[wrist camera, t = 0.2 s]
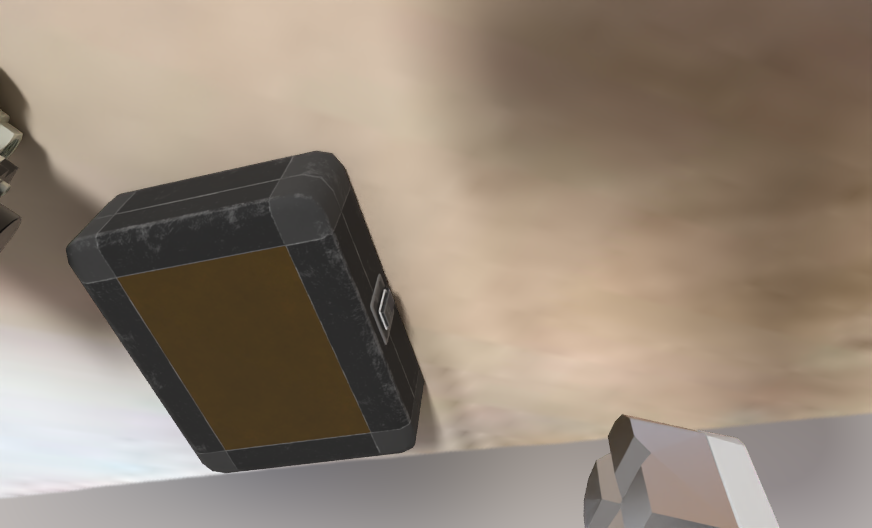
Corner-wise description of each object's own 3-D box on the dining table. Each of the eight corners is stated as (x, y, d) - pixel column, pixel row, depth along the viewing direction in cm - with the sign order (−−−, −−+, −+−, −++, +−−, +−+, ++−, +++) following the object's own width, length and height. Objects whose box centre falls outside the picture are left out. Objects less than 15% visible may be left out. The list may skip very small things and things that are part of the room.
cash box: (436, 387, 63) (428, 454, 57) (235, 414, 68) (207, 479, 61) (346, 140, 50) (322, 191, 44) (104, 194, 54) (51, 247, 48)
